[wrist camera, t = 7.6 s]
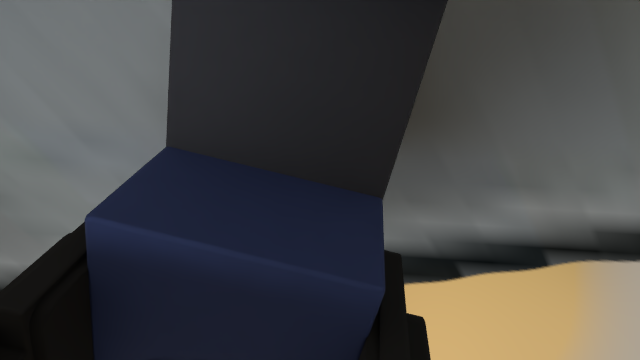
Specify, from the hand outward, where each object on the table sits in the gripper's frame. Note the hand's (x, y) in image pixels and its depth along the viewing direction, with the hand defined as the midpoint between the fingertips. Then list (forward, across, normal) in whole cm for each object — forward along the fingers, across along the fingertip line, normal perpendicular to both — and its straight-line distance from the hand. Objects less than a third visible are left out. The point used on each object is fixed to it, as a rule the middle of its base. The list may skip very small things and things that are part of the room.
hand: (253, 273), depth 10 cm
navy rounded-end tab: (+1, 0, -1) cm, 2 cm away
